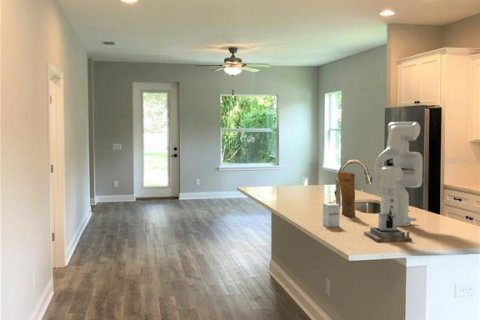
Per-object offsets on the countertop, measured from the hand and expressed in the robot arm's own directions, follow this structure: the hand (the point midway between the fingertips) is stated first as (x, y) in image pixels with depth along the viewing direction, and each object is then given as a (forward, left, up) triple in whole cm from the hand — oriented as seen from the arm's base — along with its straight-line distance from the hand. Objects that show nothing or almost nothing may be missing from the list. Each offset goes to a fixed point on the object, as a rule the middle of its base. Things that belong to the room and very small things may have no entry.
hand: (387, 226), depth 250 cm
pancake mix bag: (0, -65, -6) cm, 65 cm away
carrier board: (0, 0, -6) cm, 6 cm away
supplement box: (+20, -33, -6) cm, 39 cm away
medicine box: (0, 0, -2) cm, 2 cm away
